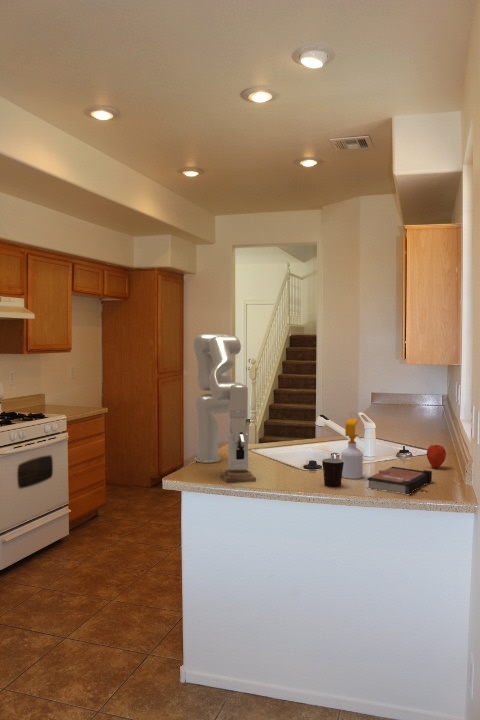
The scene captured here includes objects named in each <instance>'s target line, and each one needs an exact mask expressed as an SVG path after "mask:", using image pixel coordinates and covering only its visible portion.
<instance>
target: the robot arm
mask: <svg viewBox="0 0 480 720" xmlns="http://www.w3.org/2000/svg"><path fill="white" fill-rule="evenodd" d="M241 348H242V344H241V342H240V339H239V338H238V337H237V336H235V335H232V334H229V333H201V334H197V335H196V336H195V337H194V341H193V350H194V354H195V357H196V361H197V375H198V376H197V381H198V387H199V389H200V390H201V391H204V392H211V393H204V394H203V393H202V394H200V395H198V396H197V397H196V400H195V408H196V415H197V456H195V457H194V458H193V460H194V462H196V461H197V463H203V464H204V463H205V464H209V463H210V464H212V463H213V464H214V463H219V462H221V459H222V458H221V456H218V448H219V447H218V445H219V443H218V442H219V440H218V437H219V433H218V432H219V427H218V425H219V424H218V421H217V419H216V418H215V417H214V415H216V414H217V415H219V414H228V417H229V432H230V433H232V434H233V442H234V443H236V442H237V450H236V459H237V460H239V459H244V443H245V441H246V432H247V426H246V425H247V424H246V423H247V422H246V419H248V417H249V416H248V414H249V413H248V405H249V404H248V403H249V402H248V401H249V400H248V399H249V395H248V393H249V391H248V390H249V387H248V386H247V385H246V384H243V383H241V382H233V381H232V379H233V378H232V376H231V374H230V372H229V371H231V370H232V368H233V366H234V360H233V357H232V356H233V355H238V354H240V351H241ZM244 439H245V441H244ZM238 441H241V442H238ZM200 459H201V460H200ZM198 460H199V461H198Z"/></svg>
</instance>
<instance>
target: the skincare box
mask: <svg viewBox="0 0 480 720" xmlns="http://www.w3.org/2000/svg"><path fill="white" fill-rule="evenodd" d="M244 441H245V439H244ZM238 442H241V441H238ZM227 445H228V449H227V451H228V452H227V453H228V469H229V470H235V469H247V470H248V469H249V434H248V432H247V431H246V441H245V443H244V459H239V460H237V459H236V450H237V442H236V443H234V442H233V434H232V433H230V431H228V432H227Z"/></svg>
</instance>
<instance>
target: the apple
mask: <svg viewBox="0 0 480 720" xmlns="http://www.w3.org/2000/svg"><path fill="white" fill-rule="evenodd" d="M446 457H447V452H446V449H445V447H444V446H442V445H440V444H435V445H434V444H431V445H429V447H427V450H426V458H427V461H428V463H429V464H430V466H431V467H432V469H439V468H440V467H441V466H442V465H443V463H444V462H445V460H446Z"/></svg>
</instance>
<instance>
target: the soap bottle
mask: <svg viewBox="0 0 480 720" xmlns="http://www.w3.org/2000/svg"><path fill="white" fill-rule="evenodd" d="M358 421H359V419H358V418H352V417H351V418H348V419H347V421H346V422H345V432H344V433H345V437H348V438H349V441H347V443H348V444H347V447H345V448H344V449H343V450H342V451H341V452H340V459H341V460H344V465H343V472H342V478H344V479H348V480H350V479H351V480H359V479H361V478H363V471H364V469H363V466H364V465H363V463H364V460H363V458H364V455H363V454H364V453H363V452H362V450H361V449H359V448H358V447H357V441H355V439H356V438H357V437H359V434H356V424H357V423H358Z"/></svg>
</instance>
